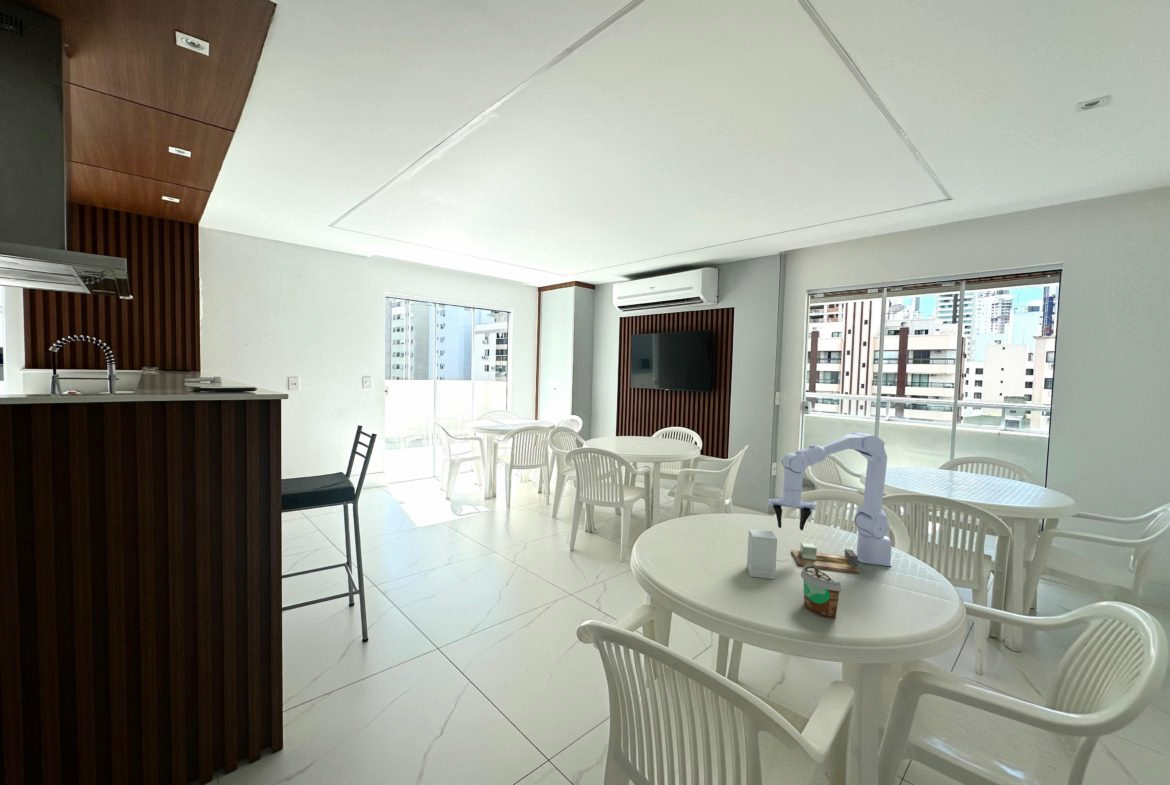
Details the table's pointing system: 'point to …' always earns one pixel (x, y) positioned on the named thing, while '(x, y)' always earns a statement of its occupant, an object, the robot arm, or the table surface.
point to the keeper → (808, 550)
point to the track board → (830, 561)
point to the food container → (820, 592)
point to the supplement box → (761, 554)
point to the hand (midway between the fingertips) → (790, 528)
